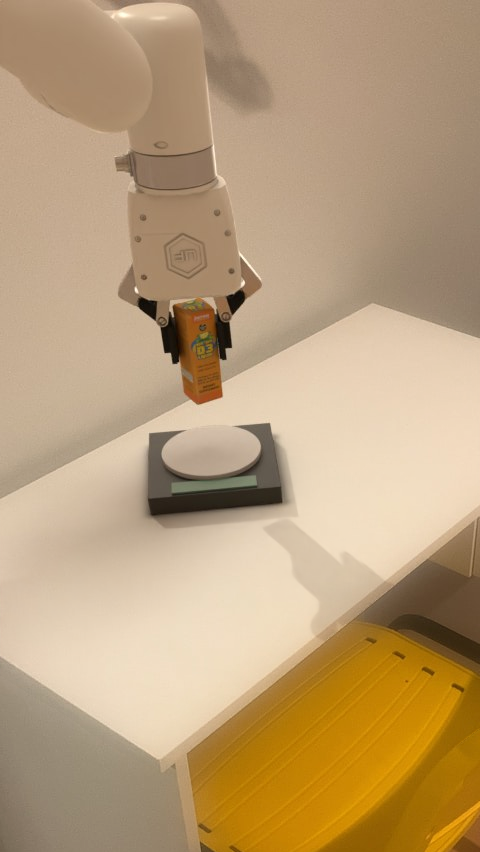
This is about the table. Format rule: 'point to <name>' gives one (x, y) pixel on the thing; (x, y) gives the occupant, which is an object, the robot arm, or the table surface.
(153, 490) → the scale
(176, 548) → the table surface
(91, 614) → the table surface
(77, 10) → the robot arm
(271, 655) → the table surface
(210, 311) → the supplement box
